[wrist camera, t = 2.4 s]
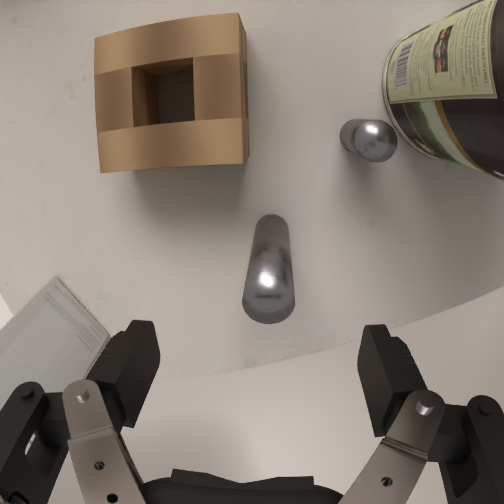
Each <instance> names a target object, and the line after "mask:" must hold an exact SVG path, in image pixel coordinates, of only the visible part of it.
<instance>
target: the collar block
mask: <svg viewBox="0 0 504 504" xmlns="http://www.w3.org/2000/svg"><path fill="white" fill-rule="evenodd" d="M190 70H193V76H194V107H195V121H185V122H175V123H165V124H159V116H158V92H157V75H160V74H167V73H174V72H182V71H190ZM94 78H95V109H96V127H97V140H98V152H99V162H100V171H101V173H108V172H117V171H128V170H138V169H150V168H164V167H179V166H196V165H219V164H243V163H244V162H245V160H246V159H247V158H248V156H249V130H248V96H247V61H246V32H245V29H244V26H243V24H242V21H241V18H240V16H239V13H228V14H217V15H207V16H199V17H191V18H184V19H177V20H171V21H165V22H160V23H155V24H150V25H145V26H140V27H136V28H131V29H127V30H123V31H119V32H115V33H111V34H108V35H104V36H100V37H97V38H95V53H94Z"/></svg>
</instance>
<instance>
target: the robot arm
mask: <svg viewBox="0 0 504 504" xmlns="http://www.w3.org/2000/svg"><path fill="white" fill-rule="evenodd" d="M357 362H358V363H357V366H358V373H359V377H360V380H361V384H362V388H363V392H364V395H365V399H366V403H367V407H368V411H369V415H370V419H371V423H372V427H373V431H374V435H375V437H382V436H385V438H383V439H382V441H381V442H380V444H379V445H378V447H377V448H376V450H375V452H374V453H373V455H372V456H371V458H370V459H369V461H368V462H367V464H366V465H365V467H364V469H363V470H362V471H361V473H360V474H359V476H358V477H357V479H356V480H355V481H354V483H353V484H352V485H351V487H350V488H349V490H348V491H347V492H346V494H345V495H342V494H340V493H339V492H337V491H334V490H332V489H329V488H326V487H322V486H319V485H314V479H313V476H304V477H275V478H270V479H265V480H260V481H254V482H248V483H237V482H233V481H230V480H227V479H224V478H220V477H217V476H214V475H211V474H208V473H202V472H194V471H186V470H179V469H173V471H172V475H171V477H166V478H160V479H156V480H152V481H149V482H147V483H144V482H143V480H142V479H141V477H140V475H139V473H138V471H137V469H136V467H135V465H134V462H133V460H132V458H131V456H130V454H129V451H128V449H127V447H126V445H125V442H124V440H123V438H122V435H121V434H120V432H121V430H122V427H123V426H125V427H130V428H134V426H135V423H136V421H137V418H138V416H139V413H140V410H141V409H142V406H143V404H144V401H145V398H146V396H147V394H148V392H149V389H150V386H151V384H152V382H153V379H154V377H155V375H156V372H157V370H158V368H159V364H160V350H159V346H158V341H157V337H156V332H155V328H154V324H153V322H152V321H144V320H132V321H131V323H130V324H129V326H128V328H127V329H126V331H120V332H119V333H117V334H116V335H115V336H113V337H112V338H111V339H110V341H109V342H108V344H107V345H106V348H105V349H104V350H103V352H102V353H101V356H99V358H98V359H97V361H96V362H95V364H94V366H93V367H92V369H91V370H90V372H89V374H88V375H87V377H86V378H85V379H83V380H77V381H74V382H72V383H71V384H69V385H68V386H67V387H66V388H65V389H64V391H63V392H50V393H45V391H44V389H43V388H42V386H41V385H40V384H39V383H37V382H33V381H29V382H25V383H22V384H20V385H19V386H17V387H16V388H15V389H14V391H13V392H12V394H11V395H10V397H9V398H8V400H7V401H6V403H5V404H4V406H3V407H2V409H1V411H0V504H47V503H48V500H49V498H50V495H51V492H52V490H53V487H54V485H55V482H56V479H57V477H58V475H59V472H60V469H61V467H62V465H63V462H64V460H65V458H66V455H67V453H68V451H70V455H71V459H72V462H73V466H74V469H75V473H76V476H77V479H78V482H79V485H80V489H81V492H82V495H83V497H84V500H85V503H86V504H405V503H406V502H407V500H408V498H409V496H410V494H411V492H412V491H413V488H414V487H415V485H416V483H417V481H418V479H419V477H420V474H421V472H422V470H423V468H424V466H425V464H426V462H427V461H428V462H438V464H439V467H440V471H441V475H442V479H443V484H444V488H445V492H446V496H447V501H448V504H504V413H503V411H502V409H501V407H500V405H499V404H498V402H496V401H495V400H494V399H493V398H491V397H488V396H485V395H478V396H475V397H473V398H472V399H471V400H470V401H469V402H468V405H467V406H460V405H450V404H445V403H444V401H443V399H442V398H441V396H439V395H438V394H437V393H435V392H433V391H430V390H428V389H427V387H426V385H425V382H424V380H423V378H422V376H421V374H420V372H419V369H418V367H417V365H416V363H415V361H414V359H413V357H412V356H411V353H410V351H409V349H408V347H407V345H406V344H405V343H404V342H403V341H402V340H401V339H400V338H398V337H391V336H390V333H389V331H388V329H387V327H386V325H385V324H380V325H366V326H365V327H364V330H363V335H362V340H361V345H360V349H359V354H358V361H357ZM33 433H34V435H35V438H34V440H33V442H32V444H31V446H30V448H29V450H28V452H27V454H26V455H25V450H26V447H27V445H28V443H29V441H30V439H31V437H32V435H33Z"/></svg>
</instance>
